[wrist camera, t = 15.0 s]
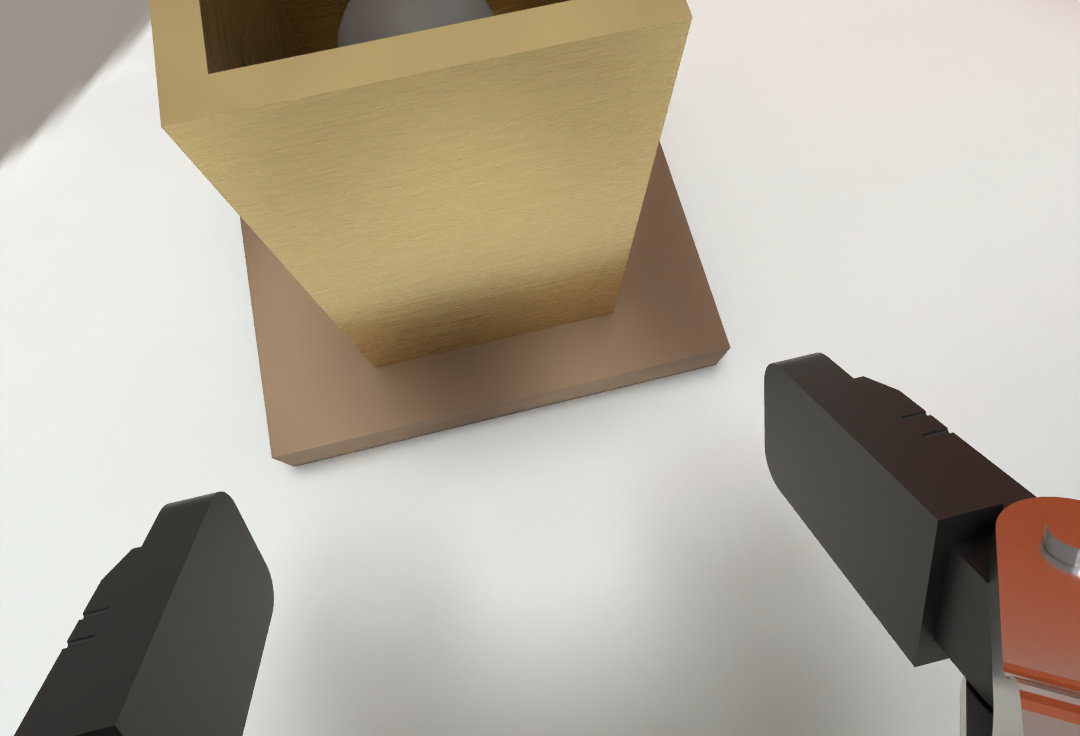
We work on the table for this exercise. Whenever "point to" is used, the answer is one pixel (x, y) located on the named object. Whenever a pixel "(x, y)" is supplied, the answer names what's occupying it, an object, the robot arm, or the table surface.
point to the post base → (485, 369)
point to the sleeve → (429, 155)
